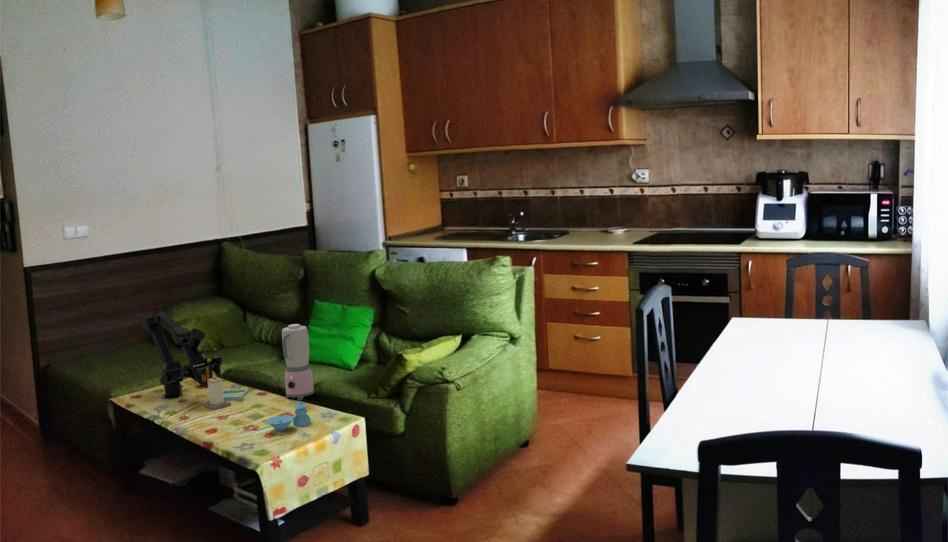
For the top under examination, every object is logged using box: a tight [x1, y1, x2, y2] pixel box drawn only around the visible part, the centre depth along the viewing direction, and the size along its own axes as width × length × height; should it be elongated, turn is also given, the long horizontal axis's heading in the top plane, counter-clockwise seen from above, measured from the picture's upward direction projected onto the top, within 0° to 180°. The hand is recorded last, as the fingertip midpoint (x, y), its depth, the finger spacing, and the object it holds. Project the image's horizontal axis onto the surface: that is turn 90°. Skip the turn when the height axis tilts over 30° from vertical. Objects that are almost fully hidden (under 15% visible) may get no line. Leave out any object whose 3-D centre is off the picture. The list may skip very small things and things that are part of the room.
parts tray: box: [223, 388, 249, 401], centre depth 366 cm, size 12×12×2 cm
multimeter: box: [198, 345, 214, 387], centre depth 390 cm, size 15×10×20 cm
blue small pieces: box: [266, 400, 312, 432], centre depth 318 cm, size 18×10×9 cm, turn 135°
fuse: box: [207, 376, 224, 406], centre depth 351 cm, size 4×4×12 cm
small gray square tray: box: [203, 400, 232, 411], centre depth 352 cm, size 8×9×2 cm
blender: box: [281, 323, 315, 401], centre depth 358 cm, size 16×12×32 cm
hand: (211, 381), depth 352 cm, fingers open, 9 cm apart
